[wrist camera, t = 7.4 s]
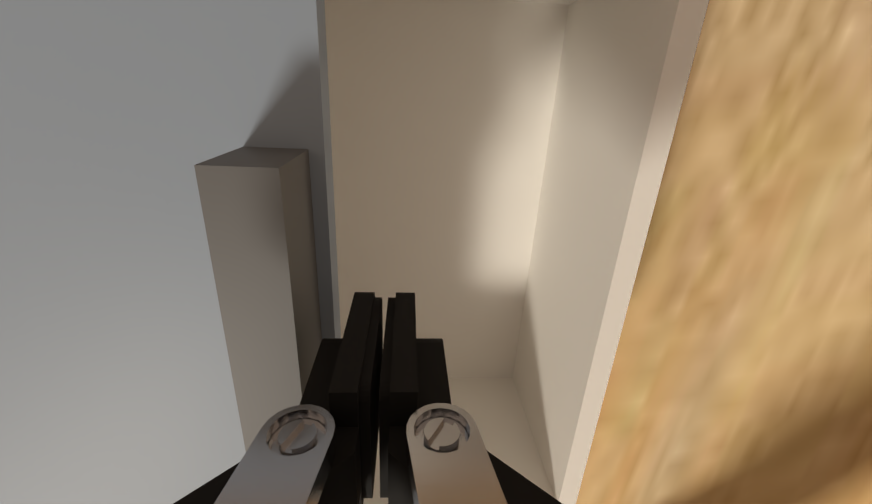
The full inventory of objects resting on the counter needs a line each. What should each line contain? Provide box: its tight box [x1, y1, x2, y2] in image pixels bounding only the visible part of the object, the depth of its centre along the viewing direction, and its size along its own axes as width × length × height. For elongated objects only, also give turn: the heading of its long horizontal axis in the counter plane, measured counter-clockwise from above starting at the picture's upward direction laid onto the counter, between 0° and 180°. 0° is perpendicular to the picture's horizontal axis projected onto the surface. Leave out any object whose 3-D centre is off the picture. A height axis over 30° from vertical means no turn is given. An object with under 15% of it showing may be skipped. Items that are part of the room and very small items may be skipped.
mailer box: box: [324, 0, 709, 504], centre depth 18 cm, size 14×22×9 cm, turn 177°
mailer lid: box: [0, 0, 341, 504], centre depth 11 cm, size 14×22×4 cm, turn 177°
